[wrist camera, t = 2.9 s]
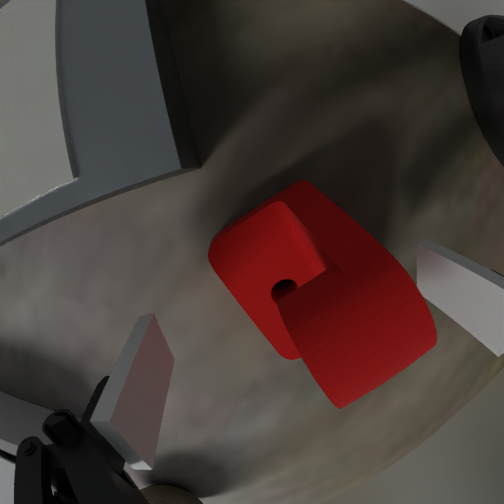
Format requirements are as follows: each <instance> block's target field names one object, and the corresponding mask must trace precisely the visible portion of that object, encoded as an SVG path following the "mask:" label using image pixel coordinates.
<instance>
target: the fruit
mask: <svg viewBox="0 0 504 504" xmlns="http://www.w3.org/2000/svg"><path fill="white" fill-rule="evenodd" d="M140 491H141V493H142V494H143V495H144V497H145V498H146V499H147V501H148V502H149V503H150V504H203V503H202V502H201V501H200V500H199V499H198V498H197V497H195V496H194V495H193V494H191V493H189V492H188V491H186V490H184V489H181V488H178V487H175V486H170V485H155V486H150V487H146V488H143V489H141V490H140Z"/></svg>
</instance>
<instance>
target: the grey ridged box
mask: <svg viewBox="0 0 504 504" xmlns="http://www.w3.org/2000/svg"><path fill="white" fill-rule="evenodd" d="M200 168H201V167H200V163H199V159H198V155H197V151H196V148H195V144H194V140H193V136H192V132H191V128H190V124H189V119H188V115H187V111H186V107H185V103H184V99H183V95H182V90H181V86H180V82H179V77H178V73H177V69H176V64H175V60H174V55H173V51H172V46H171V42H170V37H169V33H168V28H167V23H166V18H165V14H164V9H163V4H162V0H4V1H3V2H2V3H1V4H0V246H1V245H3V244H5V243H7V242H9V241H11V240H13V239H15V238H17V237H19V236H21V235H23V234H25V233H28V232H30V231H32V230H34V229H36V228H38V227H40V226H43V225H45V224H47V223H49V222H51V221H54V220H56V219H58V218H61V217H63V216H65V215H68V214H70V213H72V212H75V211H77V210H80V209H82V208H85V207H87V206H90V205H92V204H95V203H97V202H100V201H103V200H105V199H108V198H111V197H113V196H116V195H119V194H122V193H125V192H127V191H130V190H133V189H136V188H139V187H142V186H145V185H148V184H151V183H154V182H157V181H160V180H163V179H166V178H170V177H173V176H176V175H180V174H183V173H186V172H190V171H193V170H197V169H200Z"/></svg>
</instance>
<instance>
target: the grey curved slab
mask: <svg viewBox="0 0 504 504" xmlns="http://www.w3.org/2000/svg"><path fill="white" fill-rule="evenodd" d="M53 412H54V411H53V410H50V409H46V408H43V407H40V406H37V405H34V404H32V403H29V402H26V401H23V400H21V399H18V398H16V397H13V396H10V395H8V394H6V393H3V392H1V391H0V463H2V464H4V465H5V466H7V467H9V468H11V469H13V470H15V463H16V453H17V449H18V446H19V445H20V443H21V442H22V440H24V439H25V438H28V437H30V436H36V437H38V438H39V439H40V440H41V441H42V442H43V443H44V444H45V445H48V444H53V442H52V441H51V440H50V439H49V438H48V437H47V436H46V435H45V434H44V432H43V431H42V425H43V423H44V421H45V419H46V418H47V417H48V416H49V415H50V414H51V413H53ZM76 419H77V420H78V421H79V422H80V421H81V419H82V418H78V417H76Z"/></svg>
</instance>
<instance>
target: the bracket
mask: <svg viewBox="0 0 504 504" xmlns="http://www.w3.org/2000/svg"><path fill="white" fill-rule="evenodd" d="M208 258H209V262H210V264H211V266H212V268H213V269H214V271H215V272H216V274H217V275H218V276H219V278H220V279H221V280H222V282H223V283H224V284H225V286H226V287H227V288H228V290H229V291H230V292H231V293H232V295H233V296H234V297H235V299H236V300H237V301H238V303H239V304H240V305H241V306H242V308H243V309H244V310H245V312H246V313H247V314H248V316H249V317H250V318H251V319H252V321H253V322H254V323H255V324H256V326H257V327H258V328H259V330H260V331H261V332H262V333H263V335H264V336H265V337H266V338H267V340H268V341H269V342H270V343H271V345H272V346H273V347H274V348H275V350H276V351H277V352H278V353H279V354H280V355H281V356H282V357H284V358H286V359H289V360H294V359H298V358H301V357H302V359H303V361H304V362H305V364H306V366H307V367H308V369H309V371H310V372H311V374H312V375H313V377H314V378H315V380H316V382H317V383H318V385H319V386H320V387H321V389H322V390H323V392H324V393H325V394H326V396H327V397H328V398H329V399H330V401H331V402H332V403H333V404H334V405H335V406H336V407H337V408H339V409H341V408H343V407H344V406H346V405H348V404H350V403H351V402H353V401H355V400H357V399H358V398H360V397H362V396H363V395H365V394H367V393H368V392H370V391H372V390H373V389H375V388H376V387H378V386H379V385H381V384H383V383H384V382H386V381H387V380H389V379H390V378H392V377H393V376H395V375H396V374H397V373H399V372H400V371H402V370H403V369H405V368H406V367H407V366H409V365H410V364H412V363H413V362H414V361H416V360H417V359H418V358H420V357H421V356H422V355H424V354H425V353H426V352H427V351H429V350H430V349H431V348H433V347H434V346H435V345H436V342H437V334H436V328H435V324H434V321H433V318H432V315H431V313H430V310H429V308H428V306H427V304H426V302H425V300H424V298H423V296H422V294H421V293H420V291H419V289H418V288H417V286H416V284H415V283H414V281H413V280H412V278H411V277H410V276H409V274H408V273H407V272H406V270H405V269H404V268H403V267H402V265H401V264H400V263H399V262H398V261H397V260H396V259H395V258H394V257H393V255H391V254H390V253H389V252H388V251H387V250H386V249H385V248H384V247H383V246H382V245H381V244H380V243H379V242H378V241H377V240H376V239H374V238H373V237H372V236H371V235H370V234H369V233H368V232H367V231H366V230H365V229H363V228H362V227H361V226H360V225H359V224H358V223H357V222H356V221H354V220H353V219H352V218H351V217H350V216H349V215H348V214H346V213H345V212H344V211H343V210H342V209H341V208H339V207H338V206H337V205H336V204H335V203H334V202H332V201H331V200H330V199H329V198H328V197H326V196H325V195H324V194H323V193H321V192H320V191H319V190H318V189H317V188H315V187H314V186H313V185H312V184H310V183H309V182H308V181H306V180H300V179H299V180H298V181H296V182H295V183H293V184H291V185H290V186H288V187H287V188H285V189H284V190H282V191H280V192H279V193H277V194H276V195H274V196H273V197H271V198H270V199H268V200H266V201H265V202H263V203H262V204H260V205H259V206H257V207H256V208H254V209H253V210H251V211H250V212H248V213H247V214H245V215H243V216H242V217H240V218H239V219H237V220H236V221H234V222H233V223H231V224H230V225H228V226H227V227H225V228H224V229H223V230H221V231H220V232H219V233H217V234H216V235H215V237H214V238H213V239H212V241H211V245H210V248H209V252H208ZM283 279H291V280H292V281H291V283H290V285H289V286H288V287H286V288H285V289H282V290H275V289H273V286H274V285H275V284H276V283H277V282H278V281H280V280H283Z"/></svg>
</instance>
